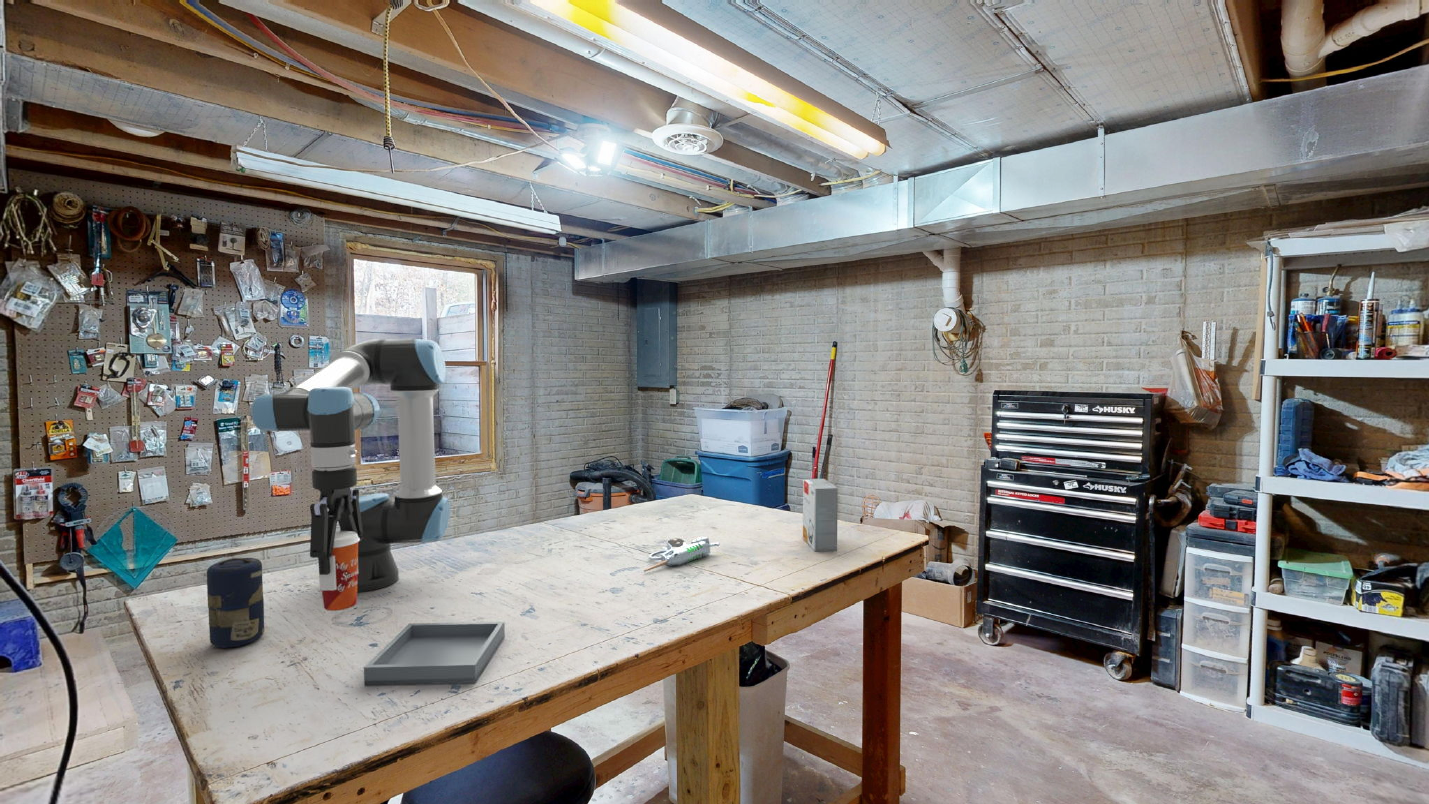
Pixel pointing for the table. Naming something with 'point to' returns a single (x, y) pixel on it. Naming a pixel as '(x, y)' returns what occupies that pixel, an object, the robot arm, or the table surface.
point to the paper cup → (344, 572)
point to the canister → (235, 602)
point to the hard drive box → (820, 514)
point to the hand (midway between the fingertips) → (339, 581)
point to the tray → (436, 654)
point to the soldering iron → (682, 552)
